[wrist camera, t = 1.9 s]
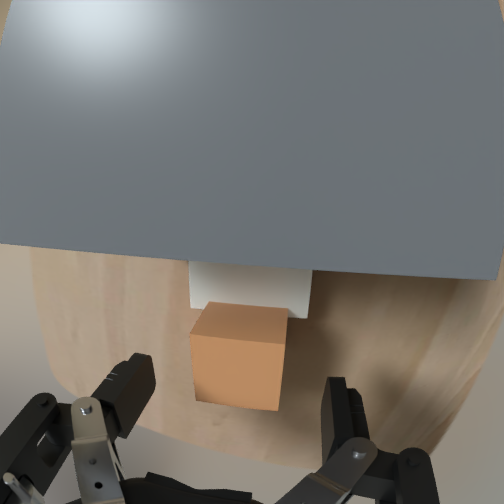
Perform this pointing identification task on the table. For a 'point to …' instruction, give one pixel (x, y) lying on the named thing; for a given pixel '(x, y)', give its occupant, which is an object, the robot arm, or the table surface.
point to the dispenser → (258, 132)
